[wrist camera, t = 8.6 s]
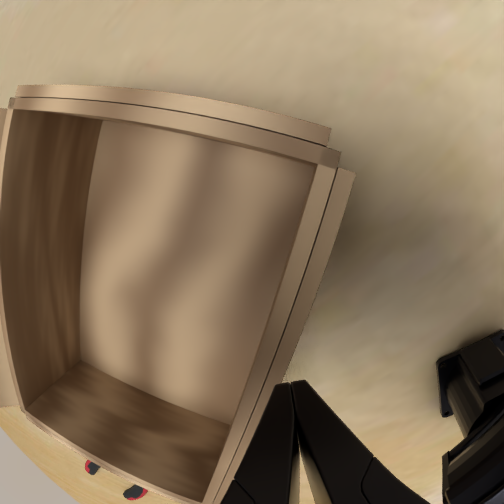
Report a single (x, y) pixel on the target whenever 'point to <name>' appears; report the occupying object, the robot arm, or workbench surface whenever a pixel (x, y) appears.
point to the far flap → (3, 389)
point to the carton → (158, 272)
